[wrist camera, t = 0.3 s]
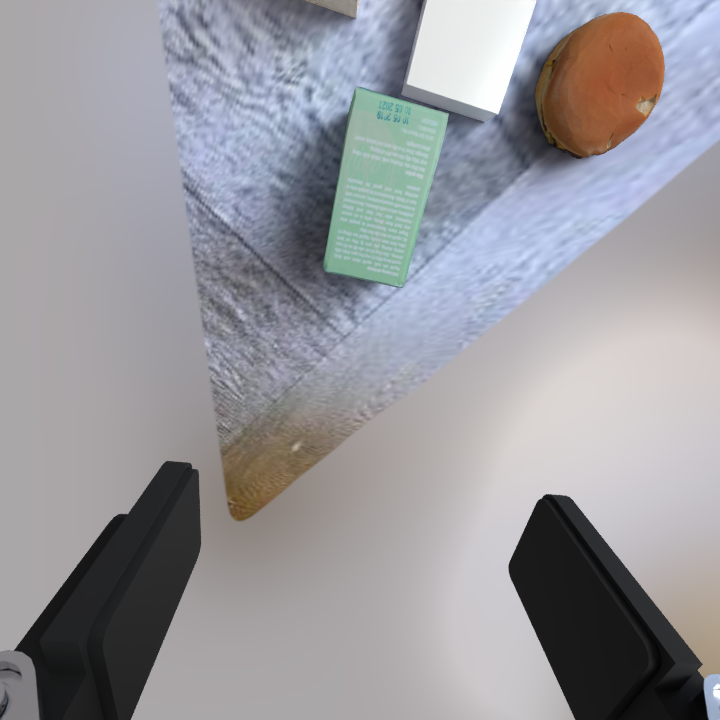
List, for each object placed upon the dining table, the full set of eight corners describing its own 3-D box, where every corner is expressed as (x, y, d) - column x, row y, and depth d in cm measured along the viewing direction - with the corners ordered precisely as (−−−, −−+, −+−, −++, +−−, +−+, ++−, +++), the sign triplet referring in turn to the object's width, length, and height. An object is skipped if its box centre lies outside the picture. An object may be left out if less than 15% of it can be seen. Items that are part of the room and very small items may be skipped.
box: (324, 263, 36) (320, 275, 29) (349, 109, 31) (353, 80, 24) (392, 277, 37) (405, 292, 30) (428, 130, 32) (453, 108, 25)
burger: (548, 20, 29) (583, -12, 25) (651, 36, 30) (702, 8, 26) (516, 155, 33) (542, 148, 29) (608, 166, 34) (646, 160, 30)
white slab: (429, -25, 28) (439, -50, 25) (521, 10, 29) (540, -11, 26) (400, 95, 31) (406, 83, 28) (484, 122, 32) (498, 114, 29)
